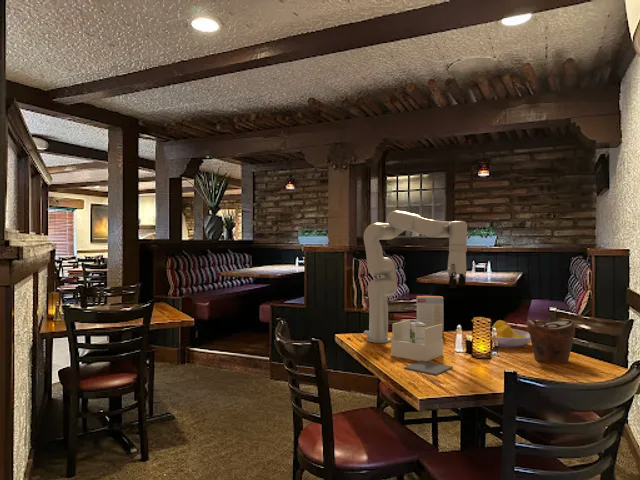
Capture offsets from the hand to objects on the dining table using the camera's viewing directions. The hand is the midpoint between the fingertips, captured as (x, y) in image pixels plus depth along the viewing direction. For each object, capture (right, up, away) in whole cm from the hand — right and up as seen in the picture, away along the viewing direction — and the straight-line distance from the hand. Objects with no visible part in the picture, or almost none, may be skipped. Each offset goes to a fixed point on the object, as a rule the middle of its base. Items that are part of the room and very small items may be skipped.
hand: (457, 287), depth 210 cm
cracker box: (-2, -31, +46) cm, 55 cm away
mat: (-18, -30, -22) cm, 42 cm away
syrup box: (-18, -31, -1) cm, 36 cm away
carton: (-18, -30, -1) cm, 35 cm away
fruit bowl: (+29, -31, +23) cm, 48 cm away
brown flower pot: (+38, -31, -8) cm, 49 cm away
